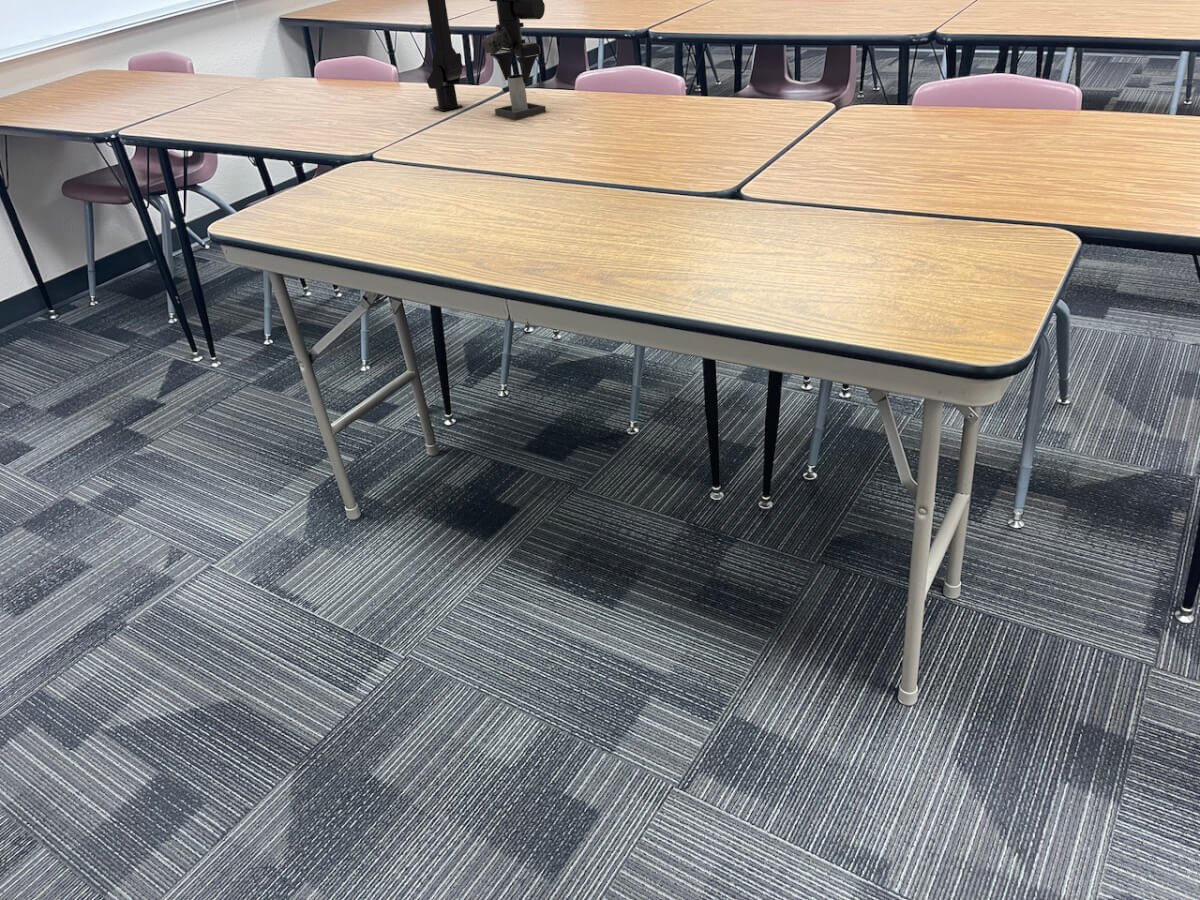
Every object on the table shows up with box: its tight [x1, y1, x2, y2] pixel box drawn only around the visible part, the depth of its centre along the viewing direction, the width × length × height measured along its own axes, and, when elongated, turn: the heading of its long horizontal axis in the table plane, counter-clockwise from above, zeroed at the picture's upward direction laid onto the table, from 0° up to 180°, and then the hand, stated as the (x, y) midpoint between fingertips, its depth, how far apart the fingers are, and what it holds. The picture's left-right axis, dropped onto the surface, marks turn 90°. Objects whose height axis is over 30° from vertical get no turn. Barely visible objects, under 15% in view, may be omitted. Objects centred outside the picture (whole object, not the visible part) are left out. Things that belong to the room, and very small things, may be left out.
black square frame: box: [494, 102, 547, 121], centre depth 241 cm, size 10×10×2 cm
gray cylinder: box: [507, 73, 528, 112], centre depth 239 cm, size 4×4×10 cm
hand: (516, 81), depth 237 cm, fingers open, 9 cm apart
